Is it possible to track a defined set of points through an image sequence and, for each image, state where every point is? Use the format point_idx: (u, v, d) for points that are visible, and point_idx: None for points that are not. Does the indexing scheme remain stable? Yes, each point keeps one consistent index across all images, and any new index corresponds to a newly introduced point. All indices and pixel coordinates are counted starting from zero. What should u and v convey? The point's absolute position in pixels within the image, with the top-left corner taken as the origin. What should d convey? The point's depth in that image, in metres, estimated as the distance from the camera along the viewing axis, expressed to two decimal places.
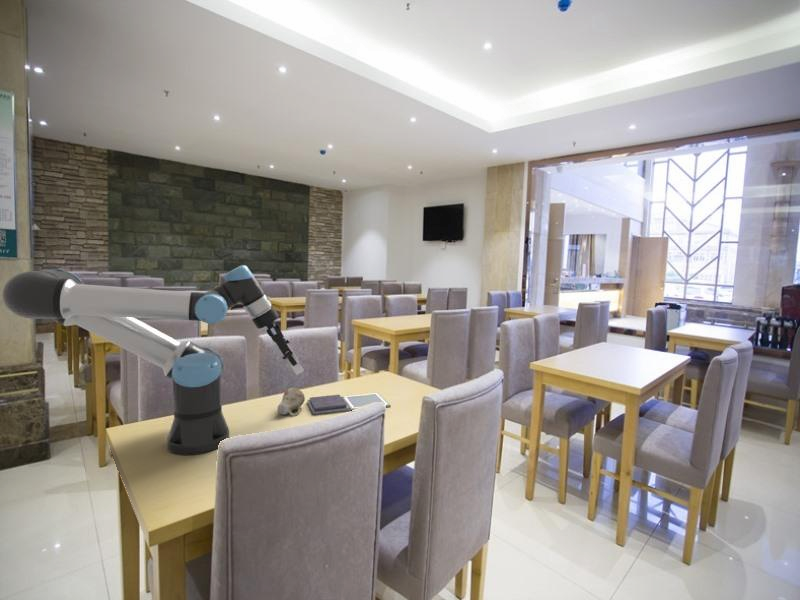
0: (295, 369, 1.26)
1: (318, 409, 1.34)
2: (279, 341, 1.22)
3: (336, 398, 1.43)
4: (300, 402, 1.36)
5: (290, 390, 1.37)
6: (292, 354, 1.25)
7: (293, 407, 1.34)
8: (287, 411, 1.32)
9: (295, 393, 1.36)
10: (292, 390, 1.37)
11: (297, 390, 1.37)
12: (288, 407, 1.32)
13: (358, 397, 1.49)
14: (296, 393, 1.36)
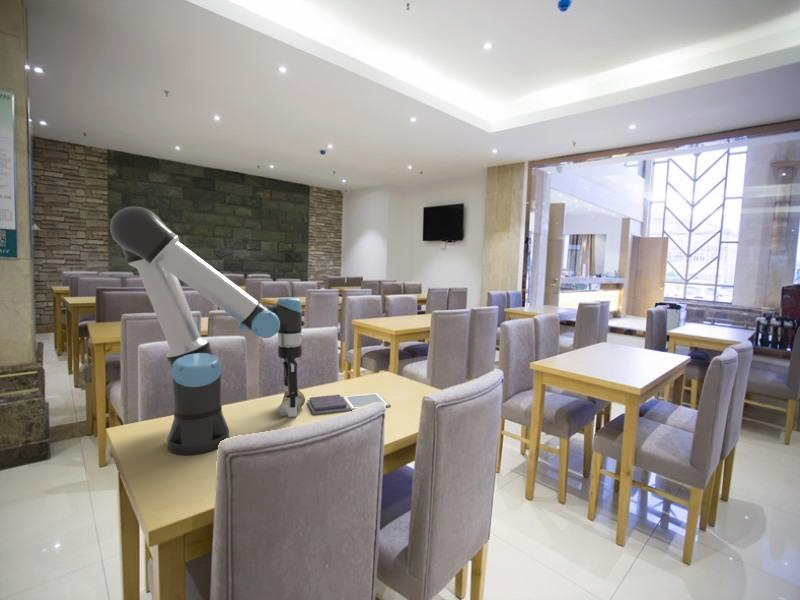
0: (290, 411, 1.30)
1: (318, 409, 1.34)
2: (292, 380, 1.28)
3: (336, 398, 1.43)
4: (300, 403, 1.36)
5: None
6: (295, 396, 1.30)
7: None
8: (287, 412, 1.31)
9: None
10: None
11: None
12: None
13: (358, 397, 1.49)
14: None
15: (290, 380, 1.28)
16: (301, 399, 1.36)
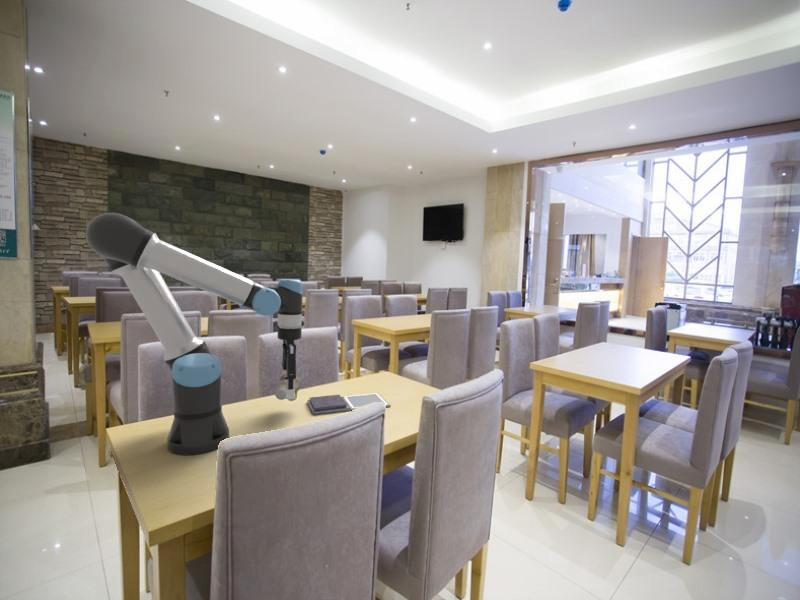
0: (288, 393, 1.30)
1: (318, 409, 1.34)
2: (291, 362, 1.27)
3: (336, 398, 1.43)
4: (297, 387, 1.35)
5: None
6: (293, 379, 1.30)
7: None
8: (285, 396, 1.30)
9: None
10: None
11: None
12: None
13: (358, 397, 1.49)
14: None
15: (289, 362, 1.27)
16: (298, 383, 1.35)
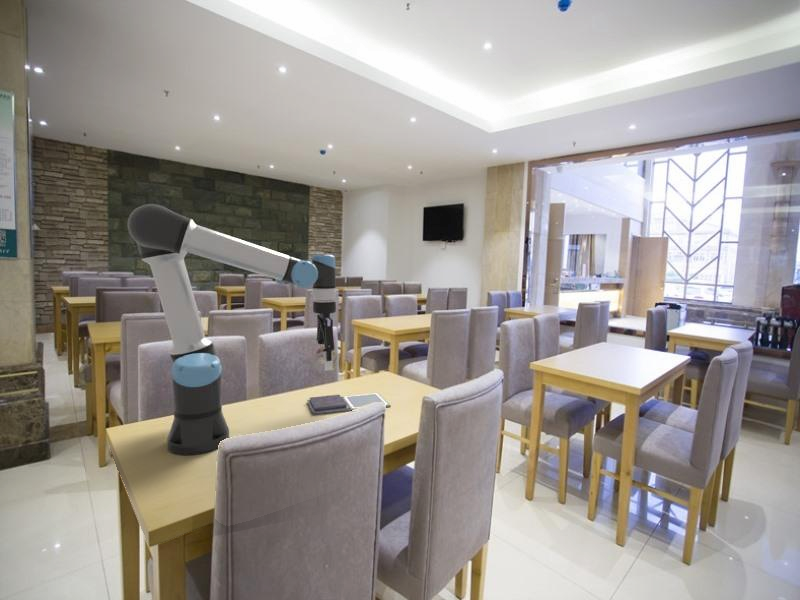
0: (326, 365, 1.33)
1: (318, 409, 1.34)
2: (329, 334, 1.31)
3: (336, 398, 1.43)
4: (334, 359, 1.39)
5: (323, 348, 1.39)
6: (331, 350, 1.33)
7: None
8: None
9: None
10: None
11: None
12: None
13: (358, 397, 1.49)
14: None
15: (327, 334, 1.31)
16: (334, 355, 1.39)
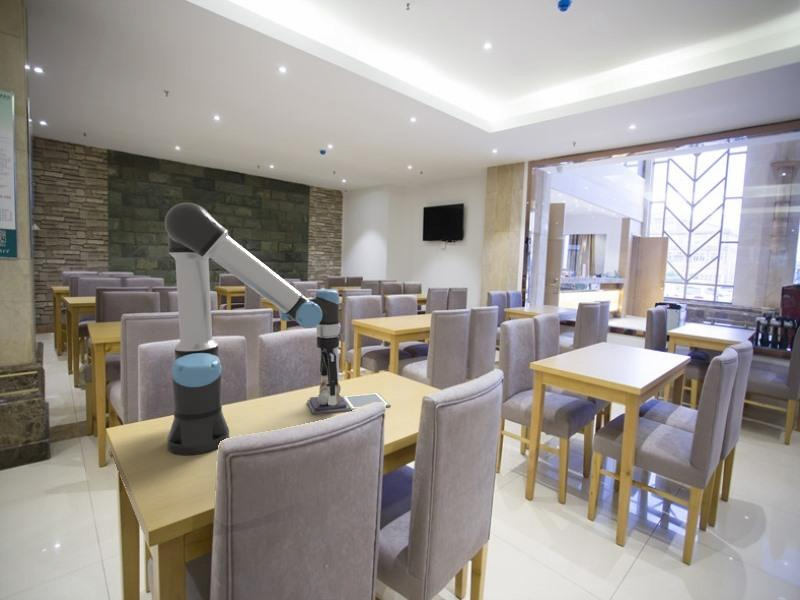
0: (330, 399, 1.35)
1: (318, 409, 1.34)
2: (332, 369, 1.33)
3: None
4: (337, 392, 1.40)
5: (327, 381, 1.40)
6: (335, 385, 1.35)
7: None
8: (327, 401, 1.36)
9: None
10: None
11: None
12: None
13: (358, 397, 1.49)
14: None
15: (330, 369, 1.32)
16: (338, 388, 1.41)
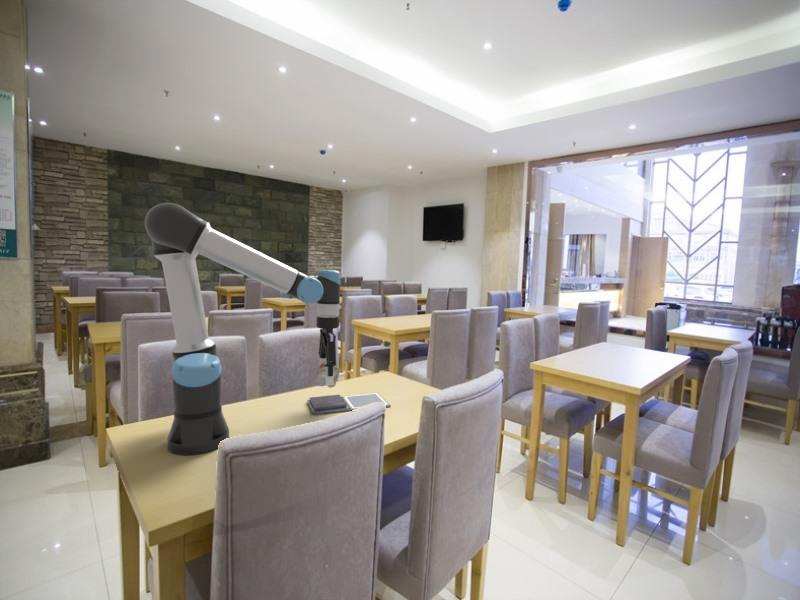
0: (327, 380, 1.34)
1: (318, 409, 1.34)
2: (331, 349, 1.32)
3: (336, 398, 1.43)
4: (336, 375, 1.39)
5: (326, 363, 1.40)
6: (333, 366, 1.34)
7: None
8: None
9: None
10: None
11: None
12: None
13: (358, 397, 1.49)
14: None
15: (329, 349, 1.31)
16: (337, 371, 1.40)
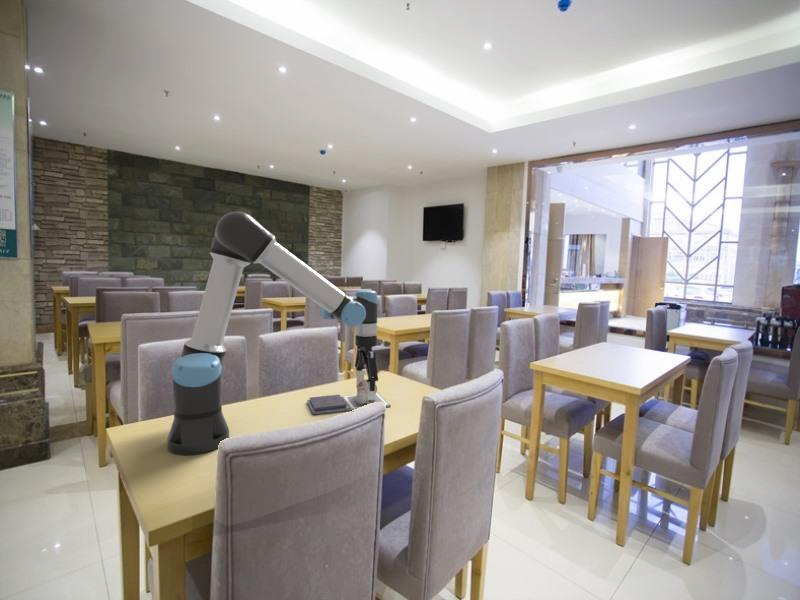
0: (369, 394, 1.38)
1: (318, 409, 1.34)
2: (372, 365, 1.37)
3: (336, 398, 1.43)
4: None
5: (364, 381, 1.46)
6: (374, 381, 1.38)
7: None
8: (365, 401, 1.41)
9: None
10: (366, 381, 1.45)
11: None
12: (366, 397, 1.41)
13: None
14: None
15: (370, 365, 1.36)
16: None
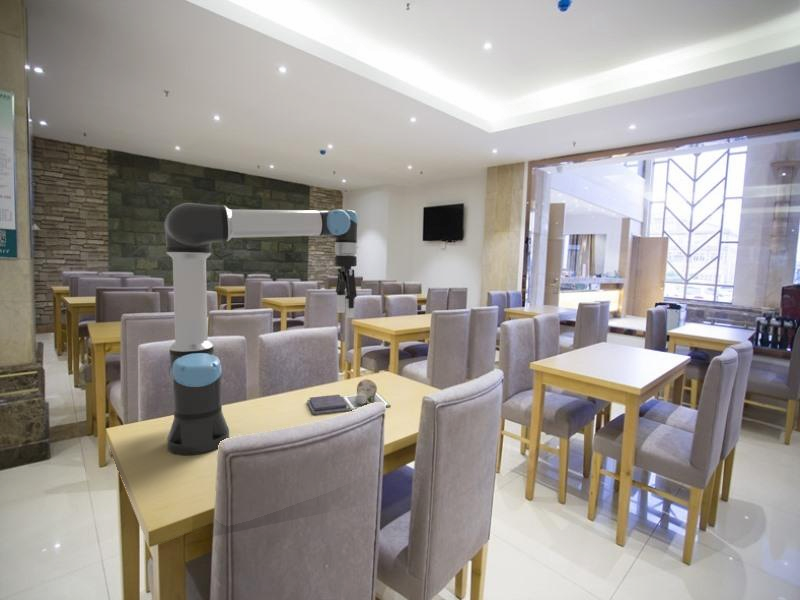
0: (348, 312, 1.39)
1: (318, 409, 1.34)
2: (351, 282, 1.37)
3: (336, 398, 1.43)
4: (374, 392, 1.45)
5: (364, 381, 1.45)
6: None
7: (369, 397, 1.43)
8: (365, 401, 1.41)
9: (369, 384, 1.45)
10: (366, 381, 1.45)
11: (371, 381, 1.46)
12: (366, 397, 1.41)
13: None
14: (371, 384, 1.45)
15: (349, 282, 1.37)
16: (375, 388, 1.45)
